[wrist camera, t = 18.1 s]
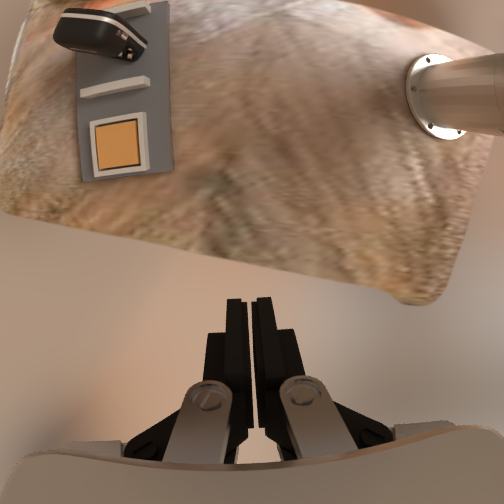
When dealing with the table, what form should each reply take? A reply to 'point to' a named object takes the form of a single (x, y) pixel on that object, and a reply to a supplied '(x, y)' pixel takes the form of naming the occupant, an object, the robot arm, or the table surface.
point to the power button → (118, 144)
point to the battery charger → (99, 34)
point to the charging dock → (128, 95)
